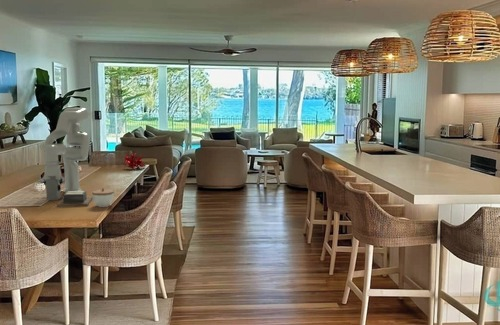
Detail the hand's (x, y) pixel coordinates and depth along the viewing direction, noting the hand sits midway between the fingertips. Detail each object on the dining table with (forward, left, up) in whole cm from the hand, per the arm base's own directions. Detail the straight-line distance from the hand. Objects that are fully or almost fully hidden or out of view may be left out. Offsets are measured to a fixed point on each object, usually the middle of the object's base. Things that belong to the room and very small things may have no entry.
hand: (53, 190), depth 317 cm
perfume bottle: (0, 0, -6) cm, 6 cm away
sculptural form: (-132, +43, -6) cm, 139 cm away
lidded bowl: (+26, +35, -6) cm, 43 cm away
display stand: (+15, +16, -6) cm, 23 cm away
